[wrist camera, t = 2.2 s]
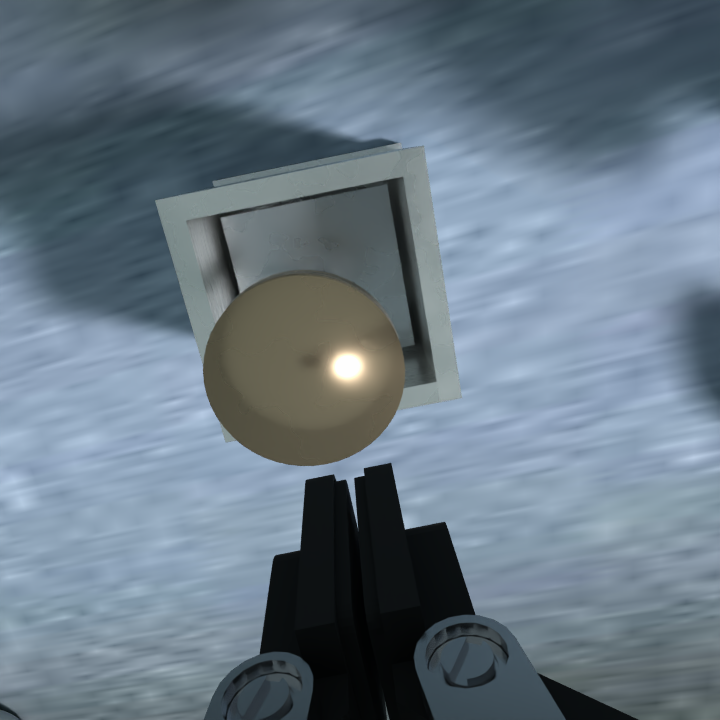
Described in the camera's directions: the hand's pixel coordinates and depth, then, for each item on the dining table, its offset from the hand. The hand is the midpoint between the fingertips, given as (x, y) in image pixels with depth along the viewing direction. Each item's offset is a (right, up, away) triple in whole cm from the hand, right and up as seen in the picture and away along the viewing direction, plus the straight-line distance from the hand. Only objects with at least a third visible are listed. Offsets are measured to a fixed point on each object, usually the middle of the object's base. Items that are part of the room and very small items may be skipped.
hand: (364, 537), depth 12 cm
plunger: (-2, +8, +26) cm, 27 cm away
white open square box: (-3, +12, +36) cm, 38 cm away
